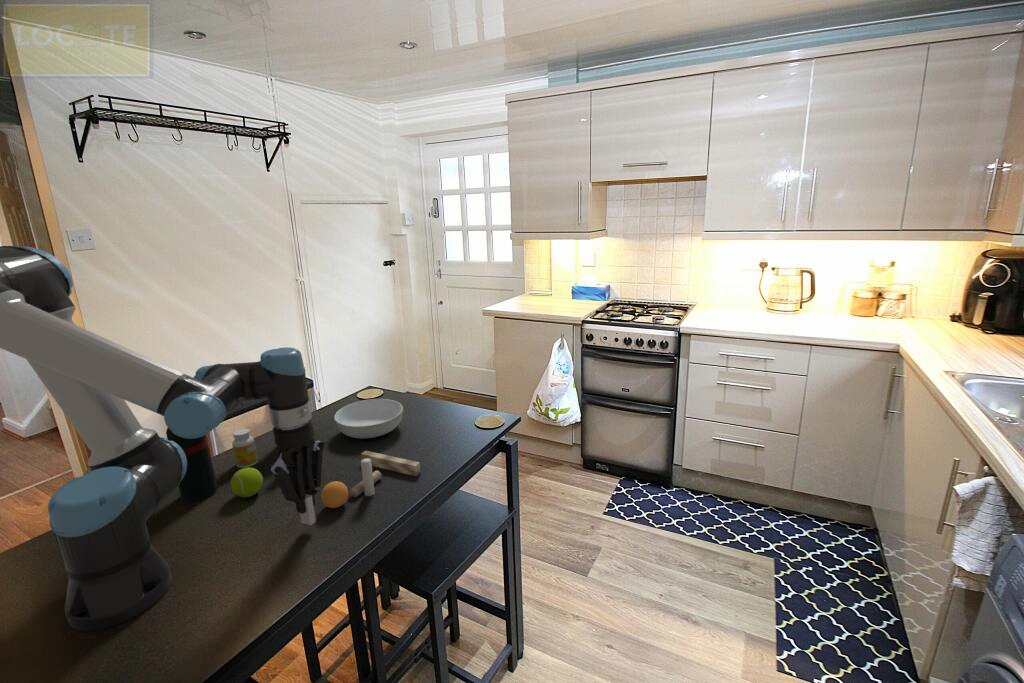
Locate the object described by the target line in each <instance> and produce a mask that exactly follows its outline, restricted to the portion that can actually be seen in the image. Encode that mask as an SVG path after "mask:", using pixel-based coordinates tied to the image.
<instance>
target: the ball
mask: <svg viewBox="0 0 1024 683" xmlns="http://www.w3.org/2000/svg"><path fill="white" fill-rule="evenodd" d="M348 489H349V488H348V487H347V486H346V484H345V483H343V482H341V481H339V480H338V481H336V480H335V481H331V482H329V483H327V484H326V485H325V486H324V487H323V488H322V490H321V495H320V498H321V501H322V503H323V505H325V507H328V508H330V509H337V508H339V507H341V506H343V505H344V504H345V503H346V501H347V500H348V497H349V490H348Z"/></svg>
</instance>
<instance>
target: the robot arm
mask: <svg viewBox="0 0 1024 683" xmlns="http://www.w3.org/2000/svg"><path fill="white" fill-rule="evenodd" d="M73 286H74V282H73V277H72V275H71V273H70V270H69V269H68V268H67V267H66V265H65V264H64V263H63V262H62V261H61V260H60V259H59V258H57V257H56V256H55V255H52V254H51V253H49V252H47V251H45V250H42V249H39V248H35V247H32V246H31V247H30V246H21V245H20V246H18V245H1V246H0V349H1V350H4V351H6V352H8V353H11V354H13V355H16V356H18V357H20V358H23V359H26V361H27V362H28V364H29V366H30V367H31V368H32V369H33V371H34V373H35V374H36V375H37V377H38V378H39V379H40V381H41V383H42V384H43V385H44V386H45V388H46V390H47V391H48V392H49V393H50V395H51V396H52V398H53V399H54V401H55V403H57V405H58V406H59V408H60V409H61V411H62V412H63V414H65V416H66V417H67V419H68V421H69V422H70V423H71V425H72V426H73V427H74V429H75V431H76V432H77V433H78V434H79V436H80V437H81V439H82V440H83V442H84V443H85V444H86V446H87V448H88V449H89V450H90V457H89V459H88V462H87V465H88V468H90V471H87V472H84V473H83V474H82V475H81V476H79V477H73V478H72V479H71V480H69V481H67V482H66V483H64V484H63V485H62V486H60V487H58V489H57V490H56V491H55V492H54V493H53V494H52V496H51V498H50V499H49V500H48V501H49V502H48V504H47V513H48V517H49V520H48V521H49V522H48V523H49V527H50V528H51V530H52V532H53V535H54V538H55V541H56V543H57V546H58V549H59V553H60V555H61V558H62V560H63V563H64V567H65V570H66V573H67V577H68V581H67V582H68V583H67V590H66V596H65V604H64V614H65V618H66V620H67V623H69V624H68V626H70V627H71V628H72V629H74V630H75V631H76V630H77V631H81V630H82V632H87V631H88V632H89V631H90V632H92V631H98V630H103V629H107V628H108V629H109V628H111V627H113V626H116V624H117V625H119V624H122V623H123V622H126V621H129V620H130V619H133V618H135V617H136V616H138V615H140V614H141V613H144V612H145V611H146V610H148V609H149V608H151V607H152V606H153V605H154V604H156V603H158V602H159V600H160V599H161V598H162V597H163V596H164V595H165V594H166V593H167V592H168V590H169V588H170V587H171V585H172V582H173V575H172V571H171V567H170V565H169V563H168V561H166V560H165V559H164V557H163V556H162V555H161V554H160V553H159V552H158V551H157V549H156V548H155V547H154V546H153V545H152V542H151V539H150V535H149V530H148V527H147V520H148V519H149V518H150V517H151V516H152V514H153V513H154V512H155V511H156V510H157V509H158V508H159V507H160V506H161V505H162V504H163V503H164V501H166V499H167V498H168V497H169V496H170V495H172V494H173V493H174V492H175V491H176V490H177V488H179V487H178V486H179V484H180V482H181V481H182V479H183V478H184V476H185V473H186V470H187V459H186V455H185V453H184V451H183V450H182V448H181V447H180V446H179V445H178V444H177V443H175V442H174V441H169V440H168V439H167V437H162V436H160V435H159V434H158V432H157V431H156V430H155V429H150V428H145V427H143V426H142V425H141V424H140V422H139V420H138V418H137V417H136V415H135V414H134V413H133V411H132V409H131V408H130V406H129V405H128V404H127V402H129V403H131V404H134V405H137V406H138V407H141V408H144V409H146V410H149V411H151V412H153V413H156V414H158V415H160V416H163V417H164V418H163V419H164V423H165V425H166V427H167V428H169V429H170V430H171V431H172V432H173V433H174V434H175V435H177V436H179V437H182V438H187V439H194V438H199V437H202V436H204V435H206V436H207V435H208V434H209V433H211V432H212V431H213V430H214V429H215V428H217V427H218V426H220V424H222V423H223V422H224V420H225V418H226V417H227V416H228V415H229V414H230V413H231V412H232V411H234V409H235V408H236V407H238V405H239V404H241V402H247V401H258V400H263V399H266V400H267V403H268V409H269V416H270V421H271V426H272V427H273V428H272V431H273V438H274V444H275V445H276V447H277V453H276V456H277V460H276V461H275V462H274V464H270V465H269V466H268V468H267V469H268V471H269V472H270V473H271V474H273V476H274V478H275V480H276V482H277V484H278V486H279V488H280V491H281V492H282V495H283V497H284V499H285V500H286V501H289V502H293V503H295V509H296V512H297V513H298V514H299V515H300V522H301V524H305V525H308V526H312V525H313V524H314V523H316V522H317V520H316V513H315V508H314V507H315V506H316V500H315V496H316V495H317V493H318V490H317V488H319V487H321V484H322V468H323V467H322V466H323V452H324V449H325V446H326V443H325V441H320V440H317V439H316V440H315V430H314V422H313V420H312V411H311V409H312V408H311V404H310V398H309V397H310V396H309V391H308V384H307V376H306V367H305V365H304V360H303V355H302V352H301V351H300V350H299V349H298V348H295V347H278V348H271V349H269V350H266V351H264V352H262V353H261V355H260V360H259V361H252V362H251V361H250V362H237V363H236V362H235V363H215V364H212V365H211V364H210V365H203V366H200V367H199V368H198V369H197V370H196V371H195V375H193V377H192V376H190V375H188V374H185V373H182V372H181V371H179V370H176V369H174V368H172V367H169V366H167V365H165V364H163V363H161V362H158V361H156V360H155V359H152V358H149V357H147V356H145V355H143V354H140V353H138V352H136V351H134V350H132V349H129V348H127V347H125V346H123V345H121V344H119V343H116V342H114V341H112V340H109V339H107V338H105V337H103V336H101V335H99V334H96V333H94V332H92V331H91V330H90V331H89V330H87V329H85V328H84V327H81V326H78V325H76V324H75V322H74V321H73V315H74V313H75V311H76V309H77V308H76V306H75V304H74V303H73V301H72V300H71V298H70V295H71V294H72V293H73V292H72V287H73ZM126 401H127V402H126ZM284 464H286V468H287V470H288V471H289V474H287V472H286V471H285V470H286V468H285V467H284Z"/></svg>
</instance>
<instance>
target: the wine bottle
mask: <svg viewBox="0 0 1024 683" xmlns="http://www.w3.org/2000/svg"><path fill="white" fill-rule="evenodd" d="M165 434H166V438H167V440H169V441H174V442H175V443H177V444H178V445H179V446H180V447H181V448H182V450H183V451H184V453H185V455H186V459H187V470H186V473H185V476H184V478H183V479H182V481H181V482H180V484H179V486H178V487H177V488H178V490H179V495H180V499H181V501H182V502H183V503H190V504H191V503H192V504H193V503H196V502H202V501H204V500H206V499H208V498H211V497H212V496H213V495H214V494H216V493H217V491H218V489H219V487H218V483H217V479H216V478H217V477H216V474H215V471H214V470H215V469H214V465H213V464H214V463H213V461H212V456H211V452H210V447H209V444H208V443H209V442H208V438H207V434H206V435H204V436H202V437H199V438H194V439H187V438H182V437H179V436H177V435H175V434H174V433H173V432H172V431H171V430H170V429H169V428H168V427H167V428H166V431H165Z"/></svg>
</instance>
